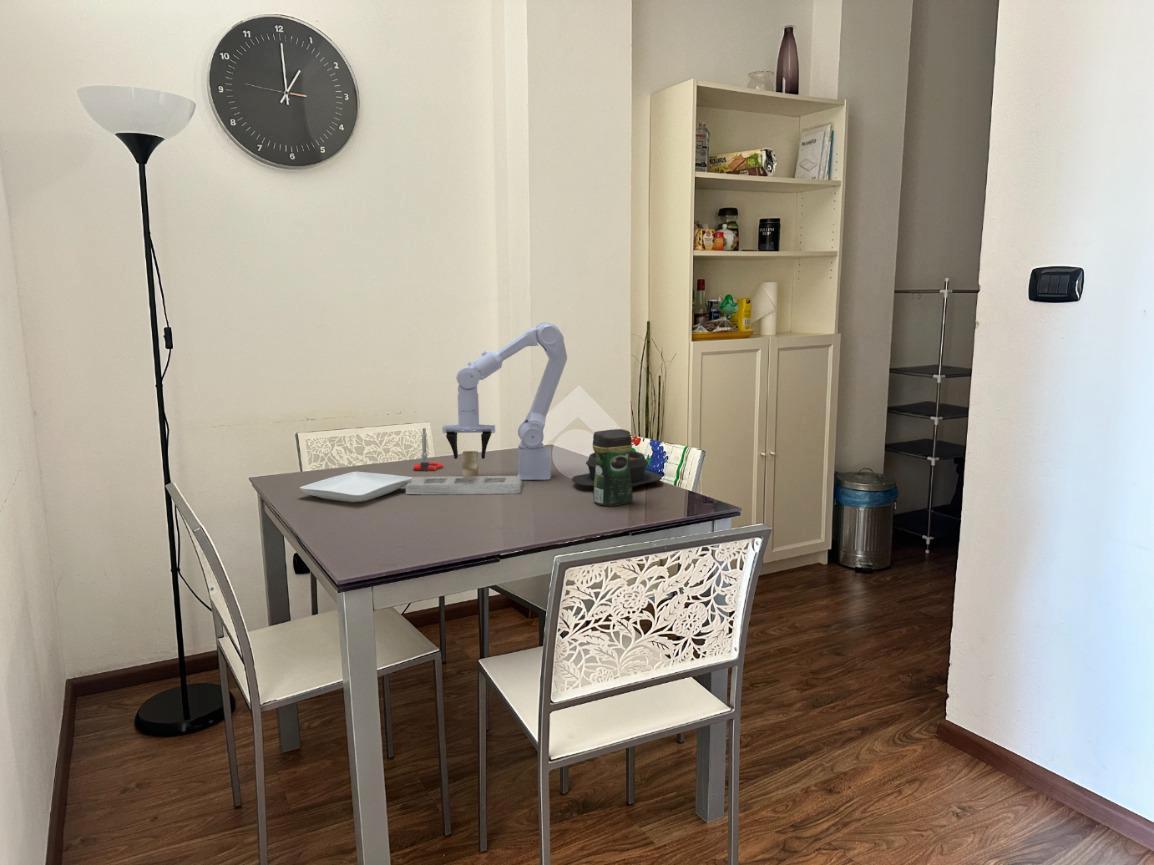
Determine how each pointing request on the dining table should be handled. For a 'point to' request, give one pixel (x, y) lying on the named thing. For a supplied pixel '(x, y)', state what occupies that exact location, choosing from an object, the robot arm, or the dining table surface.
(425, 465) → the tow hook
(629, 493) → the coffee jar
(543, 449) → the robot arm
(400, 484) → the salad plate
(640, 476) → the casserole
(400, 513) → the dining table surface
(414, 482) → the grey slotted board
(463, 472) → the peg
